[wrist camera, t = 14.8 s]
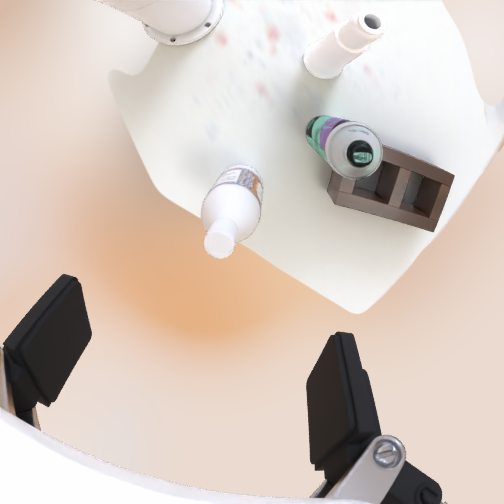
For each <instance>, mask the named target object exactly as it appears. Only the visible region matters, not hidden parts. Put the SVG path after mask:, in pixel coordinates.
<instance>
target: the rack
mask: <svg viewBox="0 0 504 504" xmlns="http://www.w3.org/2000/svg"><path fill="white" fill-rule="evenodd" d="M382 148H383V156H382V161H385V162H384V165H383V169H382V172H381V175H380V178H379V182H378V185H377V188H376V191H375V192H372V191H369V190H366V189H362V188H359V187H355V182H356V180H354V179H349V178H346V177H343V176H341V175H340V174H338V173H337V172H336V171H334V170H333V172H332V176H331V179H330V183H329V186H328V190H327V192H328V194H329V196H330V197H331V199H332V201H333V202H334V204H336V205H340V206H344V207H348V208H351V209H355V210H359V211H363V212H366V213H370V214H374V215H377V216H381V217H384V218H388V219H391V220H395V221H398V222H401V223H405V224H408V225H411V226H415V227H418V228H421V229H424V230H427V231H431V232H434V230H435V228H436V225H437V223H438V220H439V218H440V215H441V213H442V210H443V207H444V205H445V202H446V199H447V197H448V194H449V191H450V188H451V185H452V182H453V179H454V175H453V174H451V173H449V172H447V171H445V170H443V169H441V168H439V167H437V166H435V165H433V164H430V163H428V162H426V161H423V160H421V159H419V158H416V157H414V156H411V155H409V154H406V153H404V152H401V151H398V150H396V149H393V148H390V147H388V146H385V145H382ZM411 172H415V173H418V174H420V175H423V179H422V182H421V185H420V188H419V191H418V194H417V197H416V199H415V202H414V205H413V204H410V203H407V202H404V201H402V199H403V196H404V193H405V190H406V187H407V184H408V181H409V178H410V175H411Z"/></svg>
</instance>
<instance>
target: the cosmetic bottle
mask: <svg viewBox="0 0 504 504" xmlns="http://www.w3.org/2000/svg"><path fill="white" fill-rule="evenodd" d="M385 28H386V22H385V20H384V18H383V17H382V16H381V15H380V14H379V13H378V12H376V11H373V10H364V11H359V12H356V13H355V14H354V15H353V16H352V17H351V18H350V19H349V20H348V21H344V22H341V23H339V24H338V25H337V26H335V27H334V28H333V29H332V30H331V31H329V32H328V33H327V34H326V35H325V36H324V37H323V38H322V39H321V40H319V41H318V42H315V43H313V44H311V45H309V46H308V47H307V48H306V50H305V52H304V55H303V61H304V65H305V67H306V69H307V70H308V71H309V72H310V73H311V74H312V75H314V76H316V77H318V78H322V79H331V78H334V77H336V76H338V75H339V74H340V73H341V72H342V70H343V68H344V67H345V66H346V65H347V64H348V63H350V62H351V61H352V60H354V59H355V58H357V57H358V56H359V55H361V54H362V53H363V52H365V51H366V50H367V49H368V47H369V45H370V43H372V42H373V41H375V40H377V39H379V38H380V37H381V36H382V35H383V32H384V30H385Z"/></svg>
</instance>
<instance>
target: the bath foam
mask: <svg viewBox="0 0 504 504" xmlns="http://www.w3.org/2000/svg"><path fill="white" fill-rule="evenodd" d="M262 196H263V182H262V179H261V177H260V175H259V174H258V173H257V171H255V170H254V169H253V168H251V167H249V166H246V165H235V166H232V167H229V168H228V169H226V170H225V171H224V172H223V173H222V174H221V176H220V177H219V178H218V180H217V181H216V183H215V184H214V186H213V187H212V188H211V190H210V191H209V193H208V194H207V196H206V197H205V199H204V201H203V205H202V209H201V220H202V224H203V227H204V229H205V230H206V232H207V234H206V237H205V239H204V248H205V250H206V252H207V253H208V254H209V255H210V256H212V257H214V258H218V259H223V258H226V257H228V256H230V255H231V254H232V253H233V251H234V248H235V244H236V243H238V242H241V241H243V240H245V239H246V238H248V237H249V236H250V235H251V234H252V233H253V232H254V230H255V229H256V227H257V225H258V223H259V220H260V215H261V205H262Z"/></svg>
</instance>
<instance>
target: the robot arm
mask: <svg viewBox="0 0 504 504" xmlns="http://www.w3.org/2000/svg"><path fill="white" fill-rule="evenodd" d="M96 1H99V2H101V3H104V4H106V5H109V6H111V7H113V8H115V9H117V10H119V11H121V12H124V13H125V14H127V15H130V16H131V17H134V18H135V19H137V20H139V21H141V22H142V23H143V27H144V29H145V31H146V32H147V34H148V35H149V36H150V37H151V38H153V39H154V40H156V41H158V42H160V43H163V44H167V45H184V44H188V43H192V42H194V41H196V40H199V39H200V38H202V37H204V36H205V35H207V34H208V33H209V32H210V31H212V29H213V28H214V27H215V26H216V25H217V23H218V22H219V20H220V19H221V16H222V13H223V8H224V2H223V0H96ZM208 25H210V27H207V26H208ZM175 39H176V40H175ZM173 40H175V41H174V42H173ZM91 336H92V331H91V328H90V323H89V319H88V315H87V311H86V306H85V302H84V297H83V292H82V287H81V284H80V283H79V282H78V279H77V278H76V277H73V276H70V275H66V274H63V275H61V276H60V277H59V278H58V279H57V280H56V282H55V283H54V284H53V285H52V286H51V287H50V288H49V289H48V290H47V291H46V292H45V294H44V295H43V296H42V297H41V298H40V299H39V300H38V302H37V303H36V304H35V305H34V306H33V307H32V308H31V309H30V311H29V312H28V313H27V314H26V315H25V317H24V318H23V319H22V320H21V321H20V323H19V324H18V325H17V326H16V328H15V329H14V330H13V331H12V333H11V334H10V335H9V336H8V338H7V339H6V340H5V342H4V343H3V345H4V347H3V349H2V348H1V347H0V504H447V503H446V502H444V503H442V502H441V500H442V490H441V488H440V486H439V484H438V483H437V482H435V481H434V480H433V479H431V478H430V477H428V476H427V475H426V474H424V473H422V472H421V471H419V470H418V469H417V468H415V467H414V466H413V465H411V464H410V463H408V462H407V461H406V460H405V459H406V451H405V447H404V445H403V444H402V442H401V441H400V440H398V439H397V438H396V437H393V436H391V435H381V429H380V425H379V420H378V416H377V411H376V406H375V402H374V398H373V394H372V389H371V385H370V381H369V377H368V374H367V372H366V371H365V370H364V369H362V365H361V361H360V357H359V353H358V349H357V345H356V342H355V338H354V335H353V334H352V333H345V332H336V333H335V335H331V336H330V337H329V339H328V341H327V344H326V345H325V347H324V349H323V351H322V353H321V355H320V357H319V359H318V361H317V363H316V364H315V366H314V368H313V370H312V372H311V374H310V376H309V377H308V380H307V385H306V390H307V406H308V423H309V443H310V462H311V464H315V471H320V470H321V471H322V470H324V474H325V481H324V482H323V483H322V484H321V485H320V486H319V488H317V490H316V491H315V492H314V493H313V494H312V495H311V496H310V497H309V498H283V497H282V498H281V497H265V496H252V495H242V494H233V493H226V492H219V491H213V490H207V489H201V488H196V487H191V486H186V485H182V484H177V483H173V482H169V481H165V480H161V479H158V478H154V477H150V476H147V475H144V474H140V473H137V472H134V471H131V470H128V469H125V468H122V467H119V466H117V465H114V464H111V463H109V462H106V461H103V460H101V459H98V458H96V457H93V456H91V455H89V454H86V453H84V452H82V451H80V450H77V449H75V448H73V447H71V446H69V445H67V444H65V443H63V442H61V441H59V440H57V439H55V438H53V437H51V436H49V435H47V434H45V433H44V432H42V431H41V429H40V425H39V421H38V416H37V412H36V407H35V406H36V404H37V402H39V403H42V404H43V405H45V406H47V407H49V406H50V404H51V402H55V400H56V399H57V397H58V395H59V393H60V391H61V390H62V388H63V386H64V384H65V382H66V381H67V379H68V377H69V375H70V373H71V372H72V370H73V368H74V366H75V365H76V363H77V361H78V360H79V358H80V356H81V354H82V353H83V351H84V350H85V347H86V346H87V345H88V343H89V341H90V339H91Z"/></svg>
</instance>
